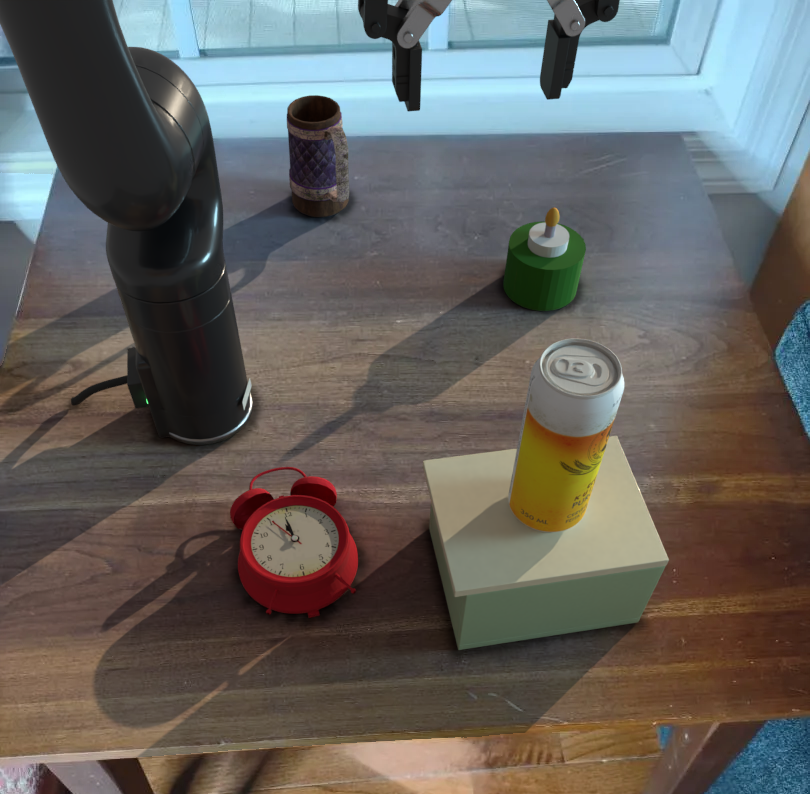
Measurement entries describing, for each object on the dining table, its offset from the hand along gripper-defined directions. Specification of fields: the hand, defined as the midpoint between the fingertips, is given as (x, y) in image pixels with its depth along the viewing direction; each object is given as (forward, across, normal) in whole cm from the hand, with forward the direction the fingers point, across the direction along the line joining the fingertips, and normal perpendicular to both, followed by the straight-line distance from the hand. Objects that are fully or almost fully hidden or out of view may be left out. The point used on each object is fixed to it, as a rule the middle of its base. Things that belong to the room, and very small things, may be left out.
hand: (480, 98), depth 52 cm
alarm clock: (+36, +15, +6) cm, 40 cm away
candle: (+36, -16, -25) cm, 47 cm away
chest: (+36, -5, +12) cm, 38 cm away
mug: (+36, +6, -43) cm, 57 cm away
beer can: (+27, -5, +12) cm, 30 cm away
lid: (+27, -5, +12) cm, 30 cm away
